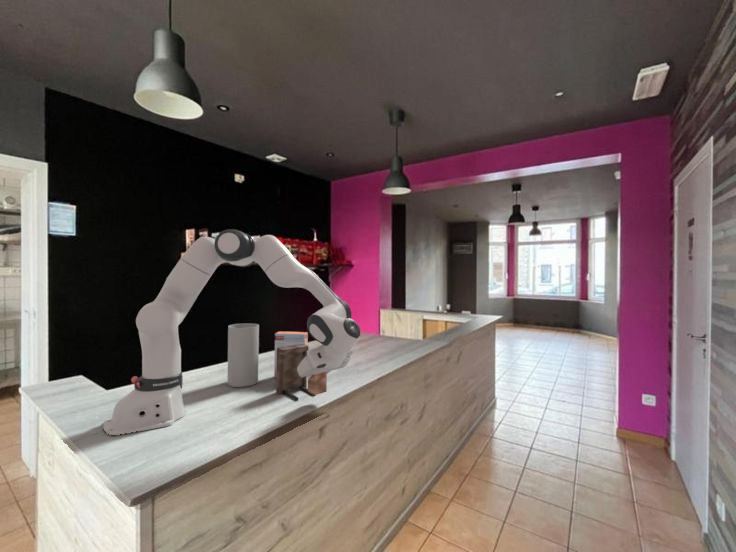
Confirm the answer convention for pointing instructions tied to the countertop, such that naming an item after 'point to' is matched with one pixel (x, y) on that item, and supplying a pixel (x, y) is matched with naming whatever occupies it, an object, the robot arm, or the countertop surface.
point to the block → (318, 383)
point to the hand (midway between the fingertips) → (316, 375)
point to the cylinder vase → (243, 354)
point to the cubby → (290, 369)
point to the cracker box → (288, 342)
